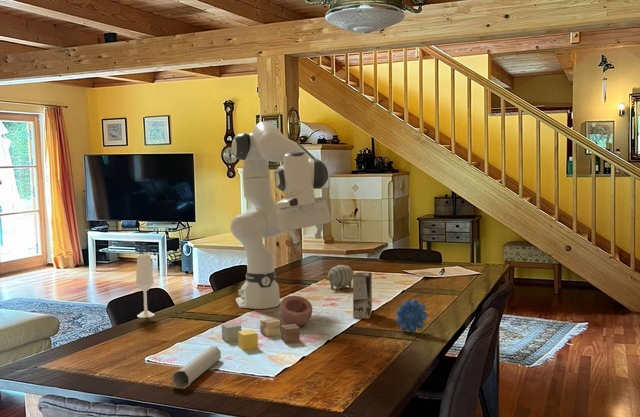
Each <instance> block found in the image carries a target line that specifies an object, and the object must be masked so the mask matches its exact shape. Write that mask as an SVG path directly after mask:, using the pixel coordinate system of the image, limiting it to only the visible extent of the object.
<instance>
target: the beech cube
mask: <svg viewBox="0 0 640 417" xmlns="http://www.w3.org/2000/svg"><path fill="white" fill-rule="evenodd" d="M259 323H260V324H259V326H260V333H261V335H263V336H265V337H268V336H269V337H273V335H274V336H278V335H277V334H279V335H281V320H279V319H277V318H275V317H269V318H261V319H260V320H259ZM269 337H268V338H269Z"/></svg>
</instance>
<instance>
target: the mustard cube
mask: <svg viewBox="0 0 640 417" xmlns="http://www.w3.org/2000/svg"><path fill="white" fill-rule="evenodd" d="M258 338H259V334H258V332H256V330H254V329H247V330H241V331H238V341H237V347H239V348H240V349H241V350H242V351H248V350H253V349H258V348H259V339H258Z"/></svg>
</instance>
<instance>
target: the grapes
mask: <svg viewBox="0 0 640 417" xmlns="http://www.w3.org/2000/svg"><path fill="white" fill-rule="evenodd" d="M419 302H420V301H419V300H418V299H417V298H416V299H415V298H414V299H412V300H410V301H409V300H407V299H406V300H404V301H403V302H402V304H401V306H399V307H397V308H396V312H395V314H396V315H397V316H396V317H395V323H396V324H397V325H400V326H399V329H400V330H401V331H403V332H405V331H408V332H409V333H411V334H412V333H415V332H416V331H417V329H420V330H421V329H422V328H423V327H424V326H425V322H424V321H425V320H427V318H428V316H429V314H428V313H427V312H426V311H425V310H426V305H425V304H424V303H419Z"/></svg>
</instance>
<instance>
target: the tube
mask: <svg viewBox="0 0 640 417" xmlns="http://www.w3.org/2000/svg"><path fill="white" fill-rule="evenodd" d="M221 354H222V352H221V350H220V349H219V347H218V346H209V347H208V348H206V350H204V351H203V352H201V353H200V354H199V355H197V356H196V357H195V358H194V359H192V360H191V361H190V362H188V363H187V364H185V365H184V366H182V367H181V368H180V369H178V370H176V371H174V372H173V373H172V374H171V383H172V384H173V386H174V387H175V388H176V389H186V388H187V387H189V386H191V384H192V382H194V381H195V380H196V379H197V378H199V377H200V376H201V375H202V374H203V373H205V372H207V370H208V369H209V368H211V367H212V366H213V365H214V364H216V363H217V362H218V361H219V360H220V359H221V358H222V355H221Z"/></svg>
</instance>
